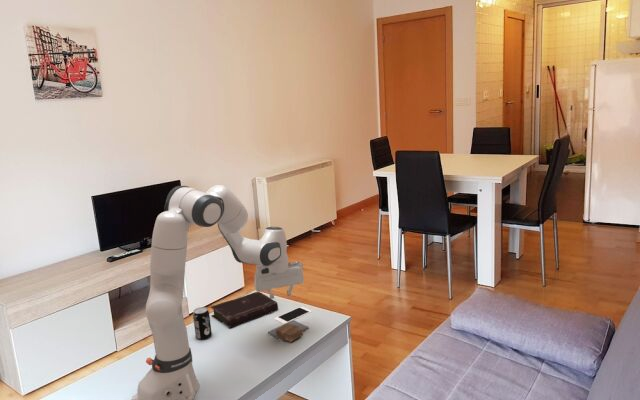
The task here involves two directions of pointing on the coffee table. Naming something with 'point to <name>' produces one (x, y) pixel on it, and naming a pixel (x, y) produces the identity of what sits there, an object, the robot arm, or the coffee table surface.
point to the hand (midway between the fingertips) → (280, 296)
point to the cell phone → (292, 315)
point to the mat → (273, 332)
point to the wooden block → (289, 332)
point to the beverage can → (202, 323)
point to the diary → (244, 309)
